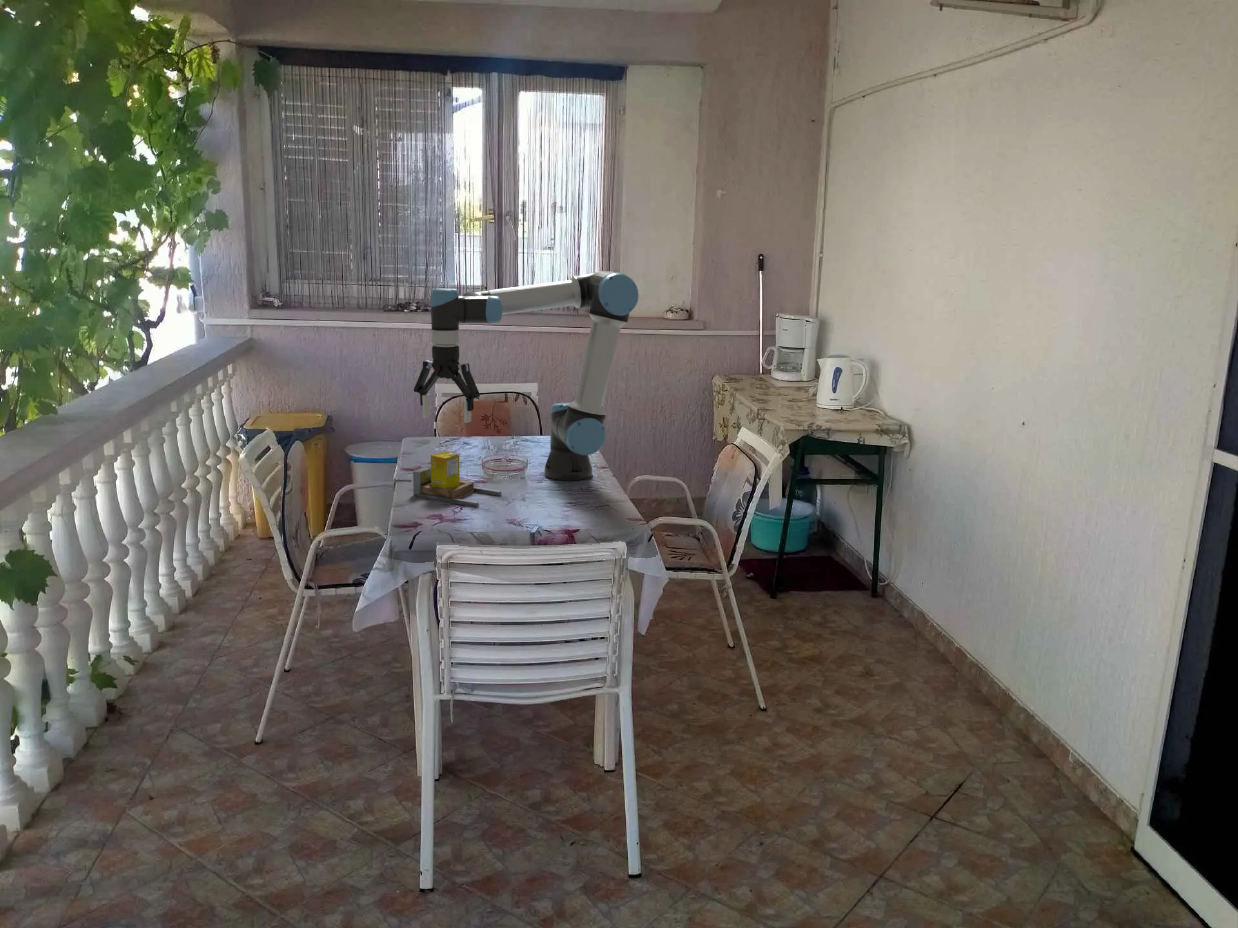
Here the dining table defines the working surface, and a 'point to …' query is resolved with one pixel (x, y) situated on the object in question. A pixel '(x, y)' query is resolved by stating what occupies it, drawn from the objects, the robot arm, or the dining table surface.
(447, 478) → the supplement box
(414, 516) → the dining table surface
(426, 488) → the tray
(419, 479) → the track
